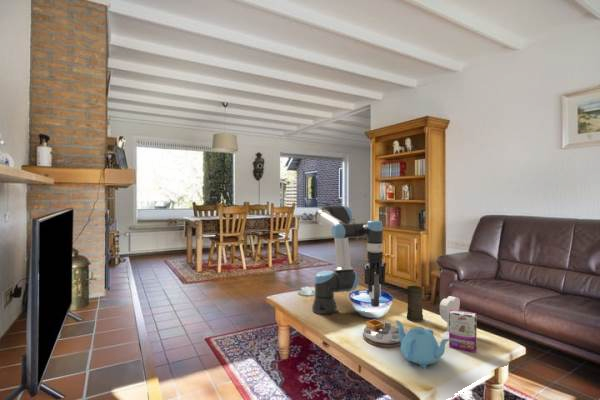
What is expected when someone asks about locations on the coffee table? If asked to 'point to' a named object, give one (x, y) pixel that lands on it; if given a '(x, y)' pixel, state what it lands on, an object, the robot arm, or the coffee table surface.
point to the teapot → (420, 346)
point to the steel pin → (375, 291)
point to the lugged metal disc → (381, 332)
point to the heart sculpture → (445, 308)
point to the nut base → (381, 344)
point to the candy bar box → (462, 330)
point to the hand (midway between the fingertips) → (375, 297)
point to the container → (415, 304)
